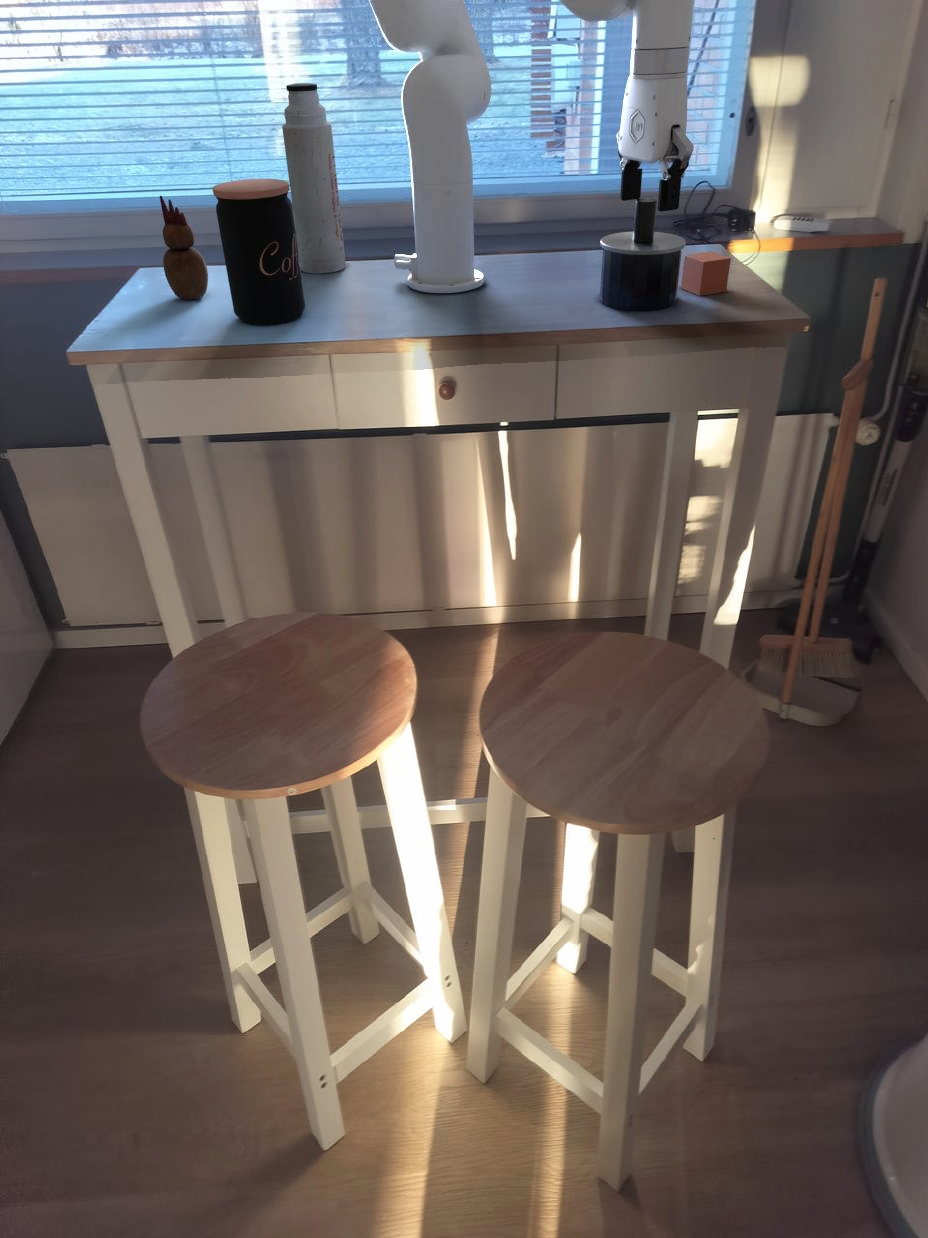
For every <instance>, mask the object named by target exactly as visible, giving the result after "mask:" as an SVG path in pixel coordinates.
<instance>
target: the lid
mask: <svg viewBox="0 0 928 1238" xmlns="http://www.w3.org/2000/svg"><path fill="white" fill-rule="evenodd" d="M634 206H635V207H634V217H633V231H624V232H623V231H622V232H615V233H612V234H607V235H605V236H604V237H602V238H601V239H600V242H599V243H600V244H599V245H600V247H601V248H602V249H603V248H604V249H606V250H608V251H612V252H616V253H622V254H631V255H658V254H667V253H673V252H676V251H679V250H682V251H683V250H684V249H685V247H686V244H687V241H686V239H685V238H684V237H682V236H679V235H676V234H673V233H667V232H661V231H655V227H656V226H655V225H656V216H657V206H658V199H656V198H652V197H640V198H639V199H635V205H634Z"/></svg>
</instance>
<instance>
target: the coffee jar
mask: <svg viewBox="0 0 928 1238" xmlns="http://www.w3.org/2000/svg"><path fill="white" fill-rule="evenodd" d="M289 192H290V183H289V181H287V180H284V179H278V178H247V179H246V178H245V179H237V180H230V181H225V182H221V183H217V184H215V185H214V186H212V193H213V196H214V197H215V198H216V199H217V203H216V206H215V213H216V218H217V223H218V229H219V230H218V231H219V236H220V241H221V246H222V252H223V258H224V262H225V269H226V274H227V279H228V280H227V281H228V285H229V291H230V297H231V303H232V307H233V314H235V316H236V317H237V318H238V319H239V320H240V321H241V322H242V323H243V324H247V325H253V326H275V325H281V324H286V323H287V324H288V323H289V322H293V321H296V320H297V319H299V318H301V316H302V315H303V312H304V310H305V308H306V302H305V294H304V293H305V292H304V287H303V286H304V285H303V278H302V270H301V267H300V259H299V252H298V244H297V236H296V227H295V217H294V211H293V205H292V200H291V199H290V198H289V197H288V194H289Z"/></svg>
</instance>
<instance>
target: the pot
mask: <svg viewBox="0 0 928 1238" xmlns="http://www.w3.org/2000/svg"><path fill="white" fill-rule="evenodd" d="M682 251H683V249H682V250H679V251H676V252H673V253H667V254H658V255H631V254H622V253H616V252H612V251H608V250H606V249H604V248H602V257H601V270H600V271H601V272H600V286H599V287H600V290H599V300H600V301H599V302H601V304H603V305H604V306H606V307H609V308H611V309H615V310H621V311H626V312H627V311H628V312H651V311H660V310H663V309H668V308H670V307H672V306H673V305H675V304H676V301H677V296H678V295H677V294H678V288H679V287H678V286H679V279H680V278H679V277H680V270H681V269H680V268H681V262H682Z"/></svg>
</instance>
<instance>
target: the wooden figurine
mask: <svg viewBox="0 0 928 1238" xmlns="http://www.w3.org/2000/svg"><path fill="white" fill-rule="evenodd" d="M167 200H168V206H167V204H166V203H165V200H164V197H163V196H162V195H159V201H160V207H161V213H162V217H163V221H164V226H163V228H162V238H163V241H164V244H165V246H166V247H167V248H168V249H167V250H166V251H165V252H164V255H163V257H162V258H163V259H162V265H163V272H164V275H165V278H166V281H167V284H168V286H169V287H170V289H171V291H172V292H173V294H174V295H175V297H177V298H179V299H180V300H184V301H194V300H197V299H200V298H203V297H204V296H205V294H206V293H207V289H208V284H209V270H208V266H207V264H206V260H205V258H204V257H203V255H202V254H201V252H200V251H198V250H197V249H196V248H194V247H193V246H194V245H195V243H196V238H195V232H194V230H193V228H192V226H191V225H190V224H189V222H188V221H187V219H186V216H185V214H184V212H180V210H179V207H178V206H176V207H174V205H173V202H172V199H171V198H169V199H167Z"/></svg>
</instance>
